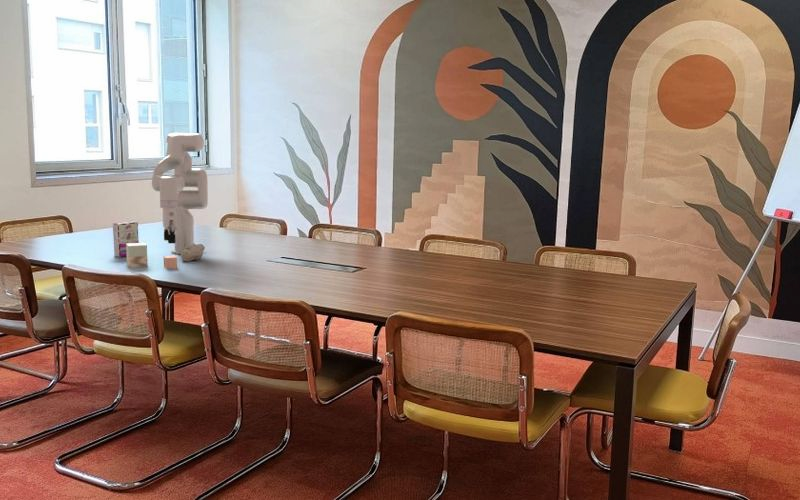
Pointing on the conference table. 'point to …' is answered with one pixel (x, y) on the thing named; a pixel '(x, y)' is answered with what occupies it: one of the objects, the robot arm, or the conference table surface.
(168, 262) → the terracotta cube
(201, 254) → the fossil replica
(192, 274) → the conference table surface
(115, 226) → the candy bar box
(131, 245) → the tower top
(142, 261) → the tower bottom
